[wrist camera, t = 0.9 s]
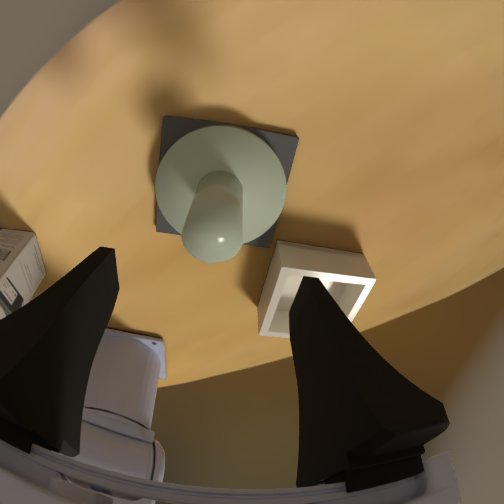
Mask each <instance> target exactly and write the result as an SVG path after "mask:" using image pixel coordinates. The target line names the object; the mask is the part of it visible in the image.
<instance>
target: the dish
mask: <svg viewBox="0 0 504 504" xmlns="http://www.w3.org/2000/svg"><path fill="white" fill-rule="evenodd" d="M303 276H308V277H316V278H319V279H320V281H321V282H322V283H323V285H324V286H325V287H326V289H327V290H328V292H329V293H330V294H331V296H332V297H333V299H334V300H335V301H336V303H337V304H338V306H339V307H340V308H341V310H342V311H343V312H344V314H345V315H346V316H347V318H348V319H349V320H350V321H351V322H352V320H353V319H354V317H355V315H356V314H357V312H358V310H359V309H360V307H361V305H362V304H363V302H364V300H365V299H366V297H367V295H368V293H369V292H370V290H371V288H372V286H373V285H374V283H375V281H376V278H375V276H374V273H373V271H372V269H371V267H370V265H369V263H368V261H367V259H366V257H365V256H364V254H361V253H355V252H349V251H343V250H337V249H330V248H324V247H318V246H312V245H306V244H299V243H293V242H286V241H280V240H277V243H276V247H275V250H274V253H273V257H272V260H271V264H270V267H269V270H268V274H267V277H266V280H265V284H264V287H263V290H262V294H261V297H260V300H259V304H258V307H257V312H258V333H259V335H261V336H272V337H284V338H290V334H289V310H290V308H291V306H292V303H293V301H294V298H295V296H296V293H297V291H298V288H299V286H300V283H301V281H302V278H303Z"/></svg>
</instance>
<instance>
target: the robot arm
mask: <svg viewBox="0 0 504 504" xmlns="http://www.w3.org/2000/svg"><path fill="white" fill-rule="evenodd" d="M118 292H119V282H118V274H117V266H116V257H115V249H113V248H107V247H99V248H98V249H97V250H95V251H94V252H93V253H92V254H90V255H89V256H88V257H87V258H85V259H84V260H83V261H82V262H81V263H79V264H78V265H77V266H76V267H75V268H73V269H72V270H71V271H70V272H69V273H67V274H66V275H65V276H64V277H62V278H61V279H60V280H59V281H57V282H56V283H55V284H53V285H52V286H51V287H50V288H48V289H47V290H46V291H44V292H43V293H42V294H40V295H39V296H38V297H36V298H35V299H33V300H32V301H30V302H29V303H27V304H26V305H24V306H23V307H21V308H19V309H18V310H16V311H14V312H13V313H11V314H9V315H7V316H6V317H4V318H2V319H0V502H1V503H3V504H155V500H156V501H162V502H169V503H176V504H459V503H460V502H461V497H460V492H459V488H458V483H457V479H456V475H455V470H454V466H453V463H452V459H451V455H450V452H449V451H446V452H444V453H441V454H438V455H435V456H432V457H430V458H427V459H425V460H422V459H421V454H423V453H424V452H425V449H424V446H423V445H424V444H425V443H427V442H428V441H430V440H432V439H433V438H435V437H437V436H438V435H440V434H441V433H442V432H444V431H445V430H446V429H447V428H448V426H449V420H448V417H447V414H446V411H445V408H444V405H443V403H441V402H440V401H438V400H436V399H435V398H433V397H432V396H430V395H429V394H427V393H426V392H424V391H422V390H421V389H419V388H418V387H417V386H415V385H414V384H413V383H411V382H410V381H409V380H408V379H406V378H405V377H404V376H403V375H401V374H400V373H399V372H398V371H397V370H396V369H394V368H393V367H392V366H391V365H390V364H389V363H387V361H385V360H384V359H383V358H382V357H381V356H380V355H379V353H377V351H376V350H375V349H374V348H373V347H372V346H371V345H370V344H369V343H368V342H367V341H366V340H365V339H364V337H363V336H362V335H361V334H360V333H359V331H358V330H357V329H356V328H355V327H354V325H353V324H352V323H351V321H350V320H349V319H348V318H347V316H346V315H345V314H344V312H343V311H342V310H341V308H340V307H339V306H338V304H337V303H336V301H335V300H334V299H333V297H332V296H331V294H330V293H329V292H328V290H327V289H326V287H325V286H324V285H323V283H322V282H321V281H320V279H319V278H316V277H308V276H303V278H302V281H301V283H300V286H299V288H298V291H297V293H296V296H295V298H294V301H293V303H292V306H291V308H290V310H289V334H290V341H291V347H292V354H293V360H294V365H295V371H296V378H297V384H298V393H299V457H298V470H297V480H296V485H297V488H286V489H221V488H207V487H196V486H187V485H179V484H172V483H165V482H162V480H163V476H164V469H165V454H164V450H163V448H162V447H161V445H160V443H159V442H158V441H156V440H154V433H155V432H154V431H151V430H150V427H151V421H152V415H153V408H154V403H155V397H156V391H157V385H158V380H159V379H166V376H167V375H166V361H165V343H164V341H163V340H162V339H160V338H154V337H149V336H143V335H138V334H132V333H127V332H122V331H117V330H113V329H108V328H106V327H107V324H108V322H109V319H110V317H111V314H112V312H113V309H114V306H115V302H116V299H117V295H118ZM51 450H52V451H53V452H52V451H51Z"/></svg>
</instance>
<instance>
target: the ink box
mask: <svg viewBox="0 0 504 504" xmlns="http://www.w3.org/2000/svg"><path fill="white" fill-rule="evenodd" d="M45 275H46V271H45V268H44V264H43V261H42V257H41V253H40V250H39V246H38V242H37V238H36V235H35V233H34V232H27V231H18V230H10V229H1V228H0V319H2V318H4V317H6V316H7V315H9V314H11V313H13V312H14V311H16V310H18V309H19V308H21V307H23V306H24V305H26V304H27V303H29V301H30V299H31V298H32V296H33V294H34V293H35V291H36V290H37V288H38V286H39V285H40V283H41V282H42V280H43V278H44V277H45Z"/></svg>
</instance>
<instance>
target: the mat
mask: <svg viewBox="0 0 504 504" xmlns="http://www.w3.org/2000/svg"><path fill="white" fill-rule="evenodd" d="M210 125H232V126H237V127H241V128H243V129H246V130H249V131H251V132H253V133H254V134H256V135H258V136H259V137H261V138H262V139H263V140H264V141H266V142H267V143H268V144H269V145H270V146H271V148H272V149H273V150H274V151H275V153H276V154H277V156H278V158H279V160H280V162H281V165H282V167H283V170H284V174H285V178H286V185H287V182H288V178H289V174H290V171H291V167H292V163H293V159H294V156H295V152H296V148H297V144H298V140H299V138H298V137H297V136H293V135H288V134H283V133H278V132H274V131H269V130H263V129H258V128H252V127H247V126H241V125H235V124H228V123H222V122H215V121H207V120H200V119H191V118H182V117H172V116H164V117H163V126H162V136H161V147H160V160H159V165H160V162H161V160H162V159H163V157H164V156H165V154H166V153H167V151H168V150H169V149H170V148H171V147H172V145H173V144H174V143H175V142H176V141H177V140H179V139H180V138H181V137H182V136H184V135H185V134H187V133H189V132H191V131H193V130H195V129H198V128H201V127H204V126H210ZM276 222H277V220H276V221H275V223H274V224H273V225H272V226H271V227H270V228H269V229H268V230H267V231H266V232H265V233H264V234H262V235H261V236H259V237H258V238H256V239H254V240H252V241H250V242H247V243H244V244H245V245H252V246H259V247H266V248H269V247H270V244H271V240H272V237H273V233H274V229H275V226H276ZM156 232H163V233H170V234H177V235H181V234H180V233H179V232H177V231H176V230H175V229H174V228H173V227H172V226H171V225H170V224H169V223H168V221H167V220H166V219H165V217H164V216H163V214H162V212H161V210H160V208H159V206H158V202H157V220H156Z"/></svg>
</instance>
